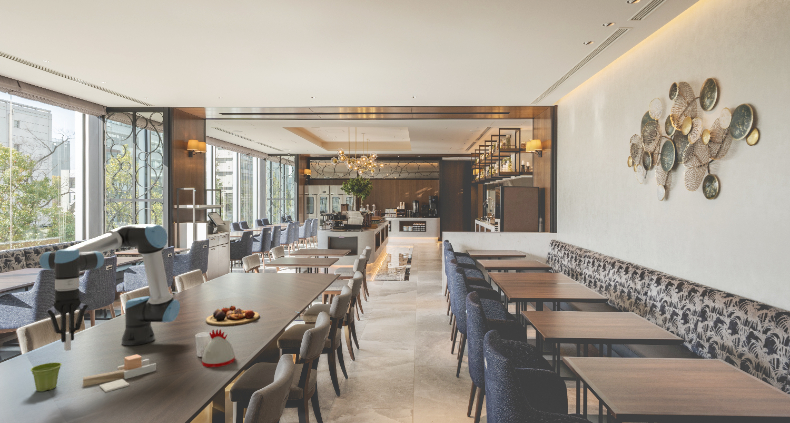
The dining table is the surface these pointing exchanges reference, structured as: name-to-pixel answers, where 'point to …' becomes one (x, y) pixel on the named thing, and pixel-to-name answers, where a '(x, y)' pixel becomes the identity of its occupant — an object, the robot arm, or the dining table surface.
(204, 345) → the white cup
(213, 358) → the white chicken figurine
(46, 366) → the plant pot
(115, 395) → the dining table surface
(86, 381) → the rod
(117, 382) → the coaster
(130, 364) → the block
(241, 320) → the wooden plate with food
